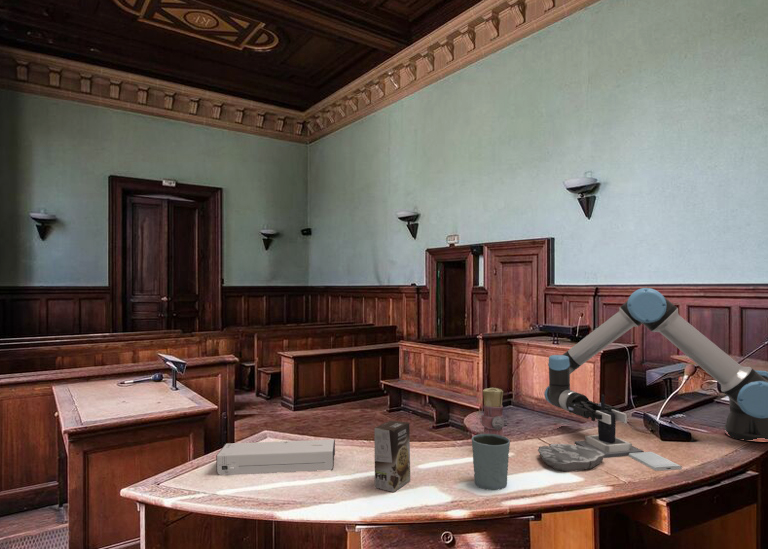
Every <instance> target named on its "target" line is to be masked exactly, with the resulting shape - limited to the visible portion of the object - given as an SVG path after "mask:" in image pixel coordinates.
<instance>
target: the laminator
mask: <svg viewBox="0 0 768 549" xmlns="http://www.w3.org/2000/svg"><path fill="white" fill-rule="evenodd" d="M335 455H336V440H335V439H315V440H314V439H312V440H310V439H309V440H291V441H290V440H288V441H287V440H286V441H285V440H284V441H283V440H282V441H261V442H259V441H258V442H235V443H233V442H232V443H225V444H224V445H223V446H222V448H221V449H220V450H219V452H218V453H217V454H216V456H215V460H216V462H215V463H216V466H215V467H216V471H215V472H216V475H218V476H230V475H231V476H236V475H256V474H259V475H260V474H278V473H277V472H284V473H297V472H296V471H308V472H318V471H317V470H331V471H333V470H334V467H335V466H334V464H335V463H334V462H335Z"/></svg>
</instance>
